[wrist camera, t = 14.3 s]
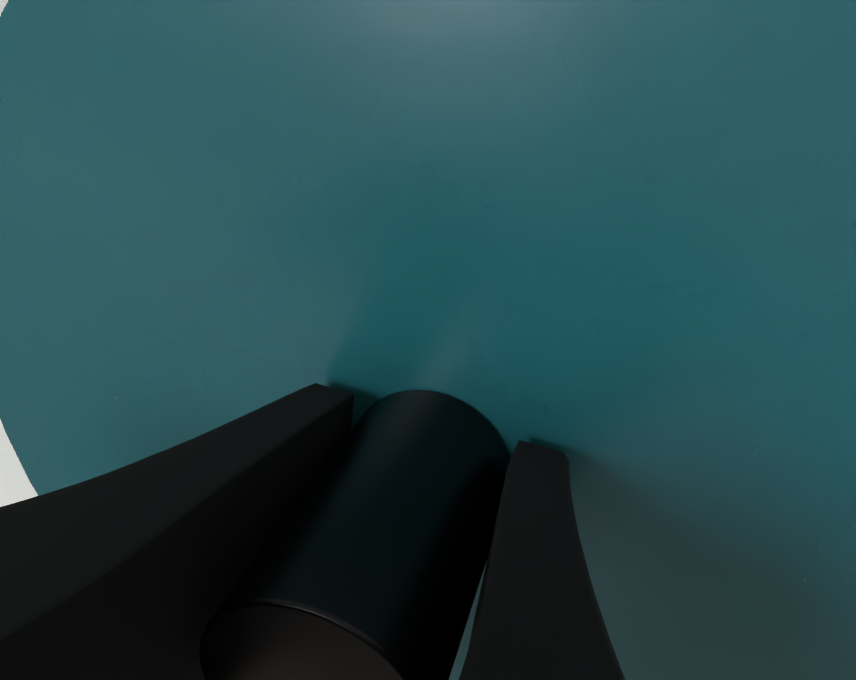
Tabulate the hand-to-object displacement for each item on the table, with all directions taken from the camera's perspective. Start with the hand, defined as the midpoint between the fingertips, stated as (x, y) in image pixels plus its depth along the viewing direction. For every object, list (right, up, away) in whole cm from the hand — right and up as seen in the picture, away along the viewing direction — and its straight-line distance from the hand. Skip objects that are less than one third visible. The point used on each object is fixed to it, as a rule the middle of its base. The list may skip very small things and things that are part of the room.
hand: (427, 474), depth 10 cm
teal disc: (0, 0, +1) cm, 1 cm away
